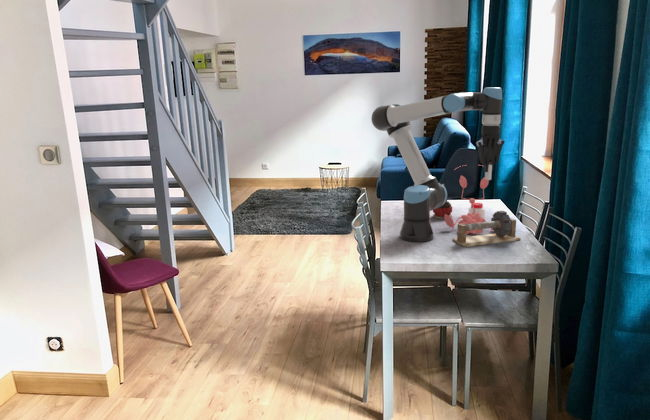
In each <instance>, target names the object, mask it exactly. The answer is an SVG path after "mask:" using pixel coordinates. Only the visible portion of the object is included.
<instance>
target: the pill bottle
mask: <svg viewBox="0 0 650 420" xmlns="http://www.w3.org/2000/svg"><path fill="white" fill-rule="evenodd" d="M473 206H474V209H475V212H474V210H473ZM473 206H472V204H471V203H470V207H469V208H468V213H471V214H473V212H474V214H475V213H479V215H480V218H484V219H485V217H486V209H485V207H484V204H483V203H481V202H475V203H473ZM474 214H473V215H474ZM485 221H486V219H485ZM485 221H484V222H485Z"/></svg>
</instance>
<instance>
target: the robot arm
mask: <svg viewBox="0 0 650 420" xmlns="http://www.w3.org/2000/svg"><path fill="white" fill-rule="evenodd" d="M502 101H503V90H502V88H501V87H484V89H483V92H482V91H481V92H472V91H471V92H470V91H469V92H467V91H465V92H464V91H461V92H455V93H450V94H448V95H443V96H438V97H433V98H430V99H429V98H428V99H424V100H420V101H415V102H412V103H406V104H399V103H398V104H397V103H396V104H390V105H389V104H387V105H380V106H378V107H376V108H375V109H374V110H373V112H372V114H371V123H372V125H373V127H374V128H375V129H377V130H378V131H383V132H386V133H387V135H388V136H389V138H391V139H393V140H394V142H395V144H396V146H397V148H398V151H399V152H400V155H401V157H402V159H403V161H404V163H405V165H406V168H407V169H408V172H409V174H410V176H411V179H412V181H413V183H414V184H413V185H411V186H408V187H407V188H406V189H404V193H403V223H402V226H401V229H400V232H399V238H400V239H401V240H402V241H405V242H412V243H413V242H414V243H424V242H428V241H432V240H433V239H434V232H433V228H432V224H431V221H430V218H431V217H430V215H431V211H432V212H433V210H434V209H437V208H439V207H441V206H442V205H443V204H444V203H445V202H446V199H447V200H448V198H447V197H448V191H447V188H446V187H445V185H444V186H443V185H442V184H443V183H442V184H441V183H440V182H439V181H438V179H437V177H436V176H432V174H431V172H430V169H429V168H428V166H427V163H426V161H425V159H424V157H423V155H422V153H421V151H420V148H419V147H418V145H417V142H416V140H415V138H414V136H413V134H412V131H411V128H412V124H411V122H413V121H417V120H418V121H419V120H422V119H428V118H432V117H437V116H443V115H448V114H453V113H460V112H466V111H482V117H481V124H482V126H481V136H480V139H479V140H478V141H475V145H476V147H477V151H478V158H479V163H481V164H482V165H483V172H484V177H485V179H487V180H489V181H491V180H492V172H494V166H495V165H496V164H498V162H499V160H500V156H501V153H502V152H501V151H502V148H503V145H504V144H505V140H502V139H501V136H500V133H501V125H500V124H501V118H502Z"/></svg>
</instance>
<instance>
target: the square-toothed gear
mask: <svg viewBox="0 0 650 420" xmlns="http://www.w3.org/2000/svg"><path fill="white" fill-rule="evenodd" d="M510 218H511V217H510V215H509V214H508V212H507V211H505V210H496V212H494V213H493V214H492V217H491V218H490V220H491V221H497V220H500V221H501V228H493V230H492V231H493V233H496V235H497V236H499V237H502V236H506V235H508V234H509V232H510V230H511V227H512V223H511V222H509V221H510V220H511V219H510Z"/></svg>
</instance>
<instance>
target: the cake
mask: <svg viewBox="0 0 650 420" xmlns="http://www.w3.org/2000/svg"><path fill="white" fill-rule="evenodd" d="M442 185H443V186H444V187H445V184H444V183H442ZM432 213H433V215H432V217H433V218H435V219H441V220H443V219H444V215H445V214H446V215H448V216H450V217H451V218H452V217H453V215H452V213H453V206H452V204H451V202H449V201H448V196H447V199H446V202H445V203H444V204H443V205H442V206H441V207H439V208H437V209H434V210H432Z"/></svg>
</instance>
